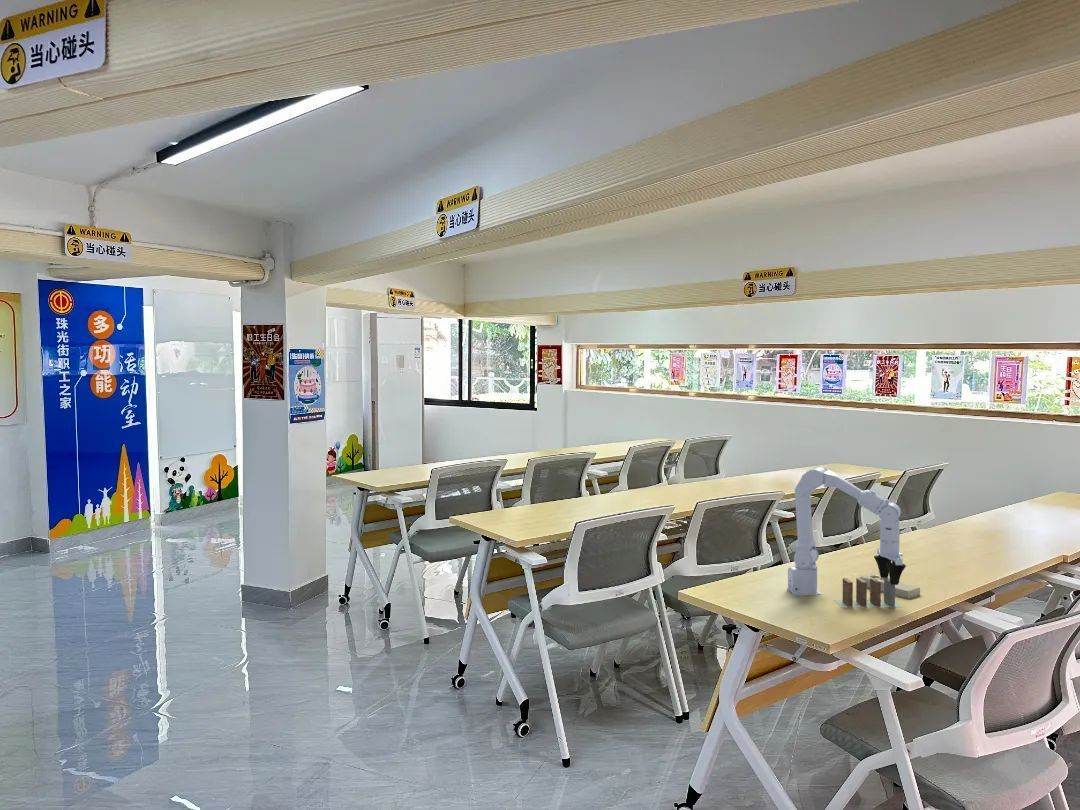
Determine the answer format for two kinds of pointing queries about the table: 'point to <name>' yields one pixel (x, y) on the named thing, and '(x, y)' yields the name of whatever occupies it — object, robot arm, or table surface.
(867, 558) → the table surface
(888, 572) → the robot arm
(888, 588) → the charcoal end domino
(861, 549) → the table surface
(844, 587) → the walnut domino
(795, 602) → the table surface
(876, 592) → the walnut domino
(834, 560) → the table surface
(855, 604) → the sage mat
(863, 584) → the walnut domino
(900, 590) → the electrical outlet
